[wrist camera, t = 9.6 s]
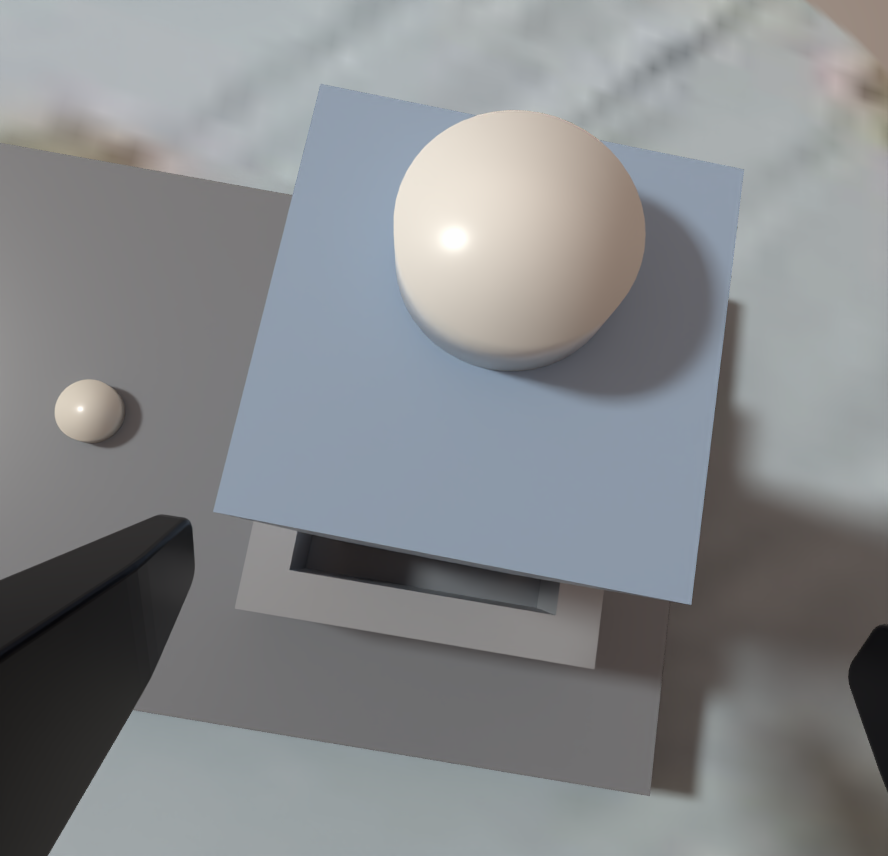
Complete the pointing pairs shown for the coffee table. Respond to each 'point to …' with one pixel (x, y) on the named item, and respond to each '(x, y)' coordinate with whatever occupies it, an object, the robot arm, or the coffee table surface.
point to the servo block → (491, 346)
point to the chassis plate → (261, 545)
